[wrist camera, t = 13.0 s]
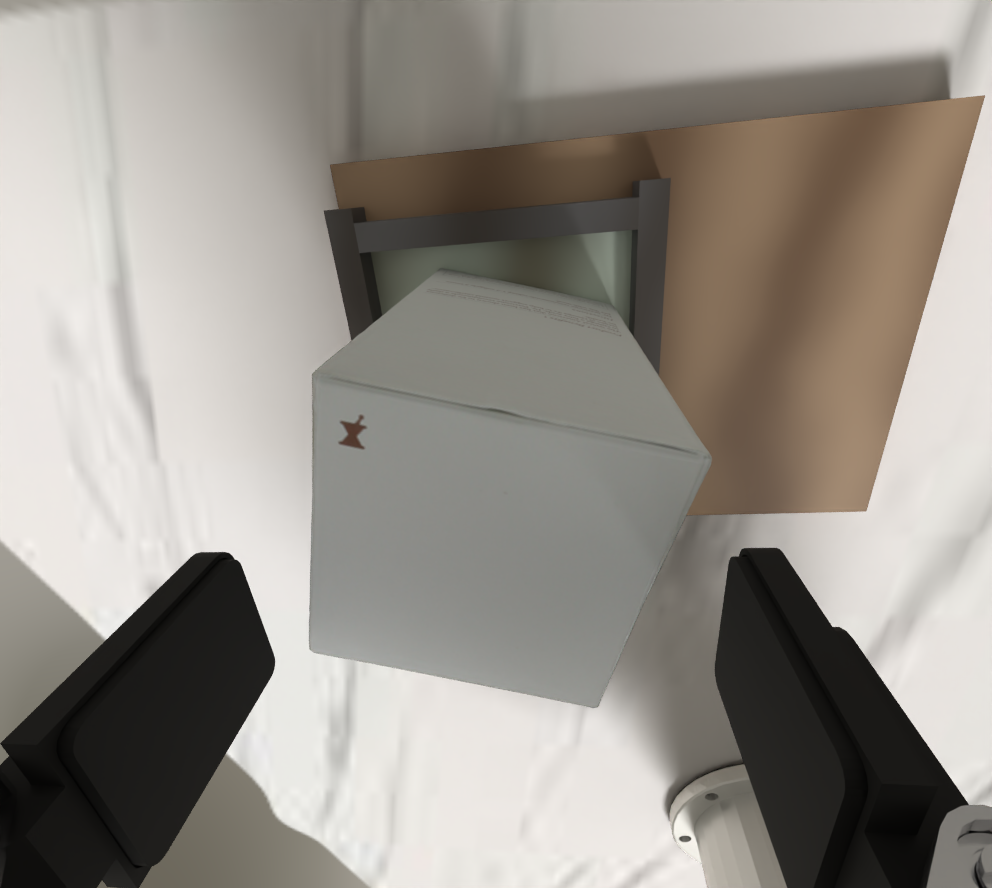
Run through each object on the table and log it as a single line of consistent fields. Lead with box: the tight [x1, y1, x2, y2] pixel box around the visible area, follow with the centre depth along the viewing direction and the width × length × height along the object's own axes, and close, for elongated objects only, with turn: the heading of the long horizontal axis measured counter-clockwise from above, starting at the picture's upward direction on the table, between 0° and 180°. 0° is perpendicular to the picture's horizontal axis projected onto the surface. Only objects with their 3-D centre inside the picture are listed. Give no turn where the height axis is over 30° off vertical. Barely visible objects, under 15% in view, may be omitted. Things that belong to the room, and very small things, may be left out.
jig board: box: [324, 96, 985, 515], centre depth 21 cm, size 22×16×3 cm
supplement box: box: [309, 268, 712, 708], centre depth 16 cm, size 7×7×13 cm
